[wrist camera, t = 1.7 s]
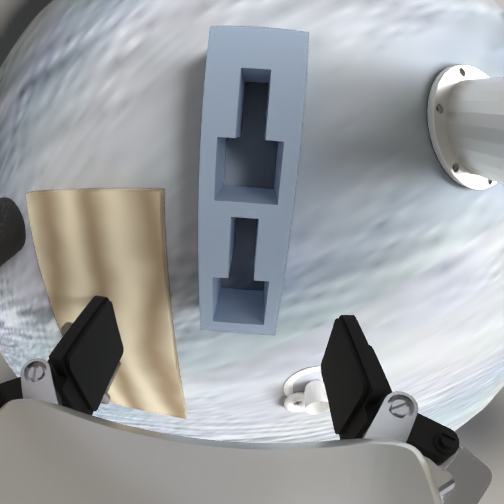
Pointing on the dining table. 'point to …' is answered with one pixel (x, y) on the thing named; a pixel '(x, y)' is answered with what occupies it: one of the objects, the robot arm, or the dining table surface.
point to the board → (114, 282)
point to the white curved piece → (306, 394)
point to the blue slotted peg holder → (248, 198)
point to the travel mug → (10, 230)
